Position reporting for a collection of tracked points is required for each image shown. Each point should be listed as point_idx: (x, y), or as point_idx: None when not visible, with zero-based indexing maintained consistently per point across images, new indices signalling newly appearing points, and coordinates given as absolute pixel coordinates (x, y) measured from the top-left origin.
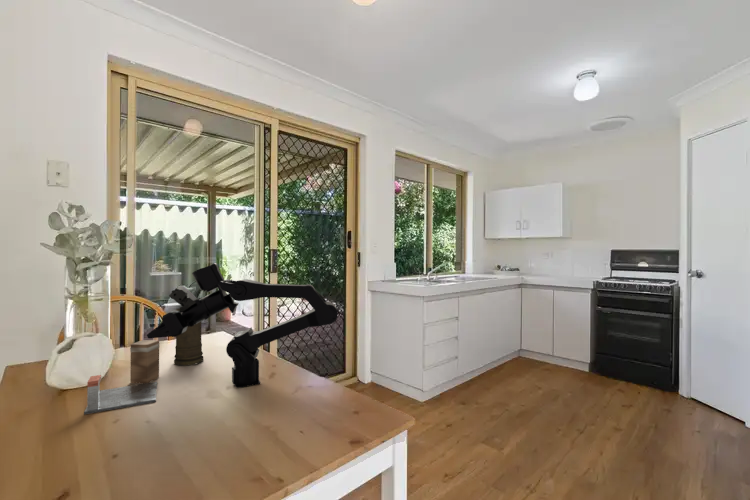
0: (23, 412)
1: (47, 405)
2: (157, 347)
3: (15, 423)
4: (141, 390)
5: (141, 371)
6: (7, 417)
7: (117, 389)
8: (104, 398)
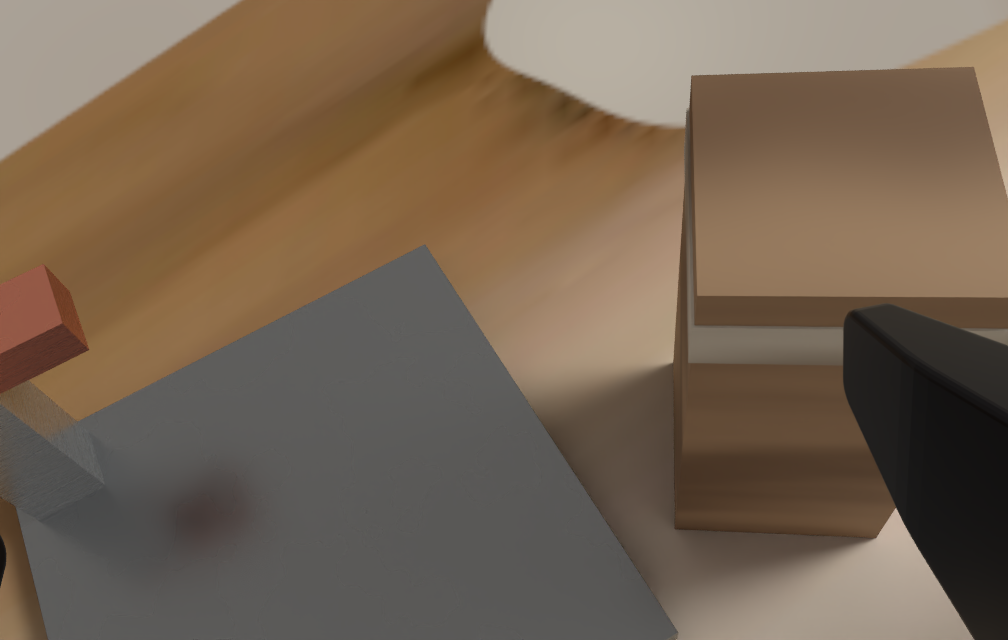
0: (163, 106)
1: (248, 140)
2: None
3: (8, 182)
4: (415, 626)
5: (679, 410)
6: (110, 90)
7: (454, 385)
8: (255, 420)
